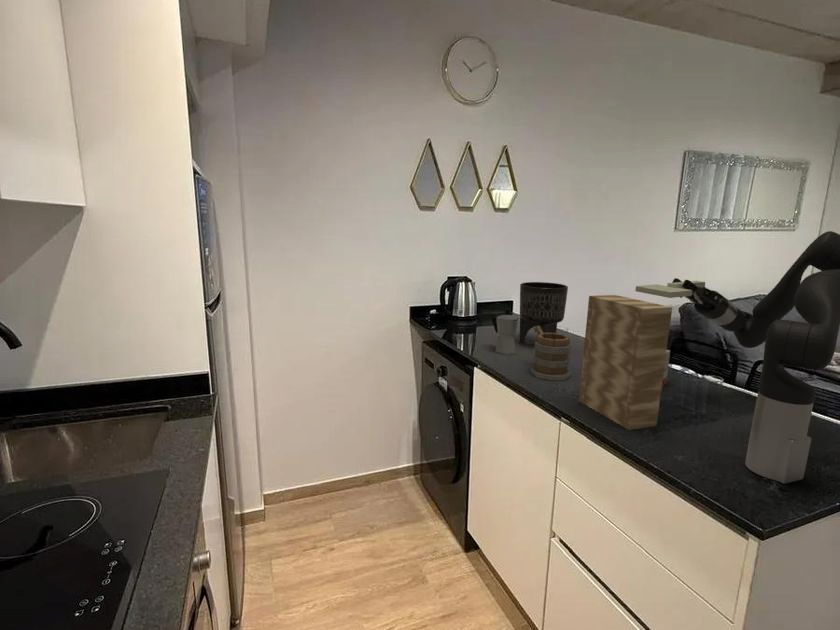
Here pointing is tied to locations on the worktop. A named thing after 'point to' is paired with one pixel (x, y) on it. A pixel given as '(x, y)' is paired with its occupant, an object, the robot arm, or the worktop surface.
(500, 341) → the coffee maker
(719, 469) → the worktop surface
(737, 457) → the worktop surface
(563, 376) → the tankard
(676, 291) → the sage mallet
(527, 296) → the planter
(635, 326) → the wooden crate
